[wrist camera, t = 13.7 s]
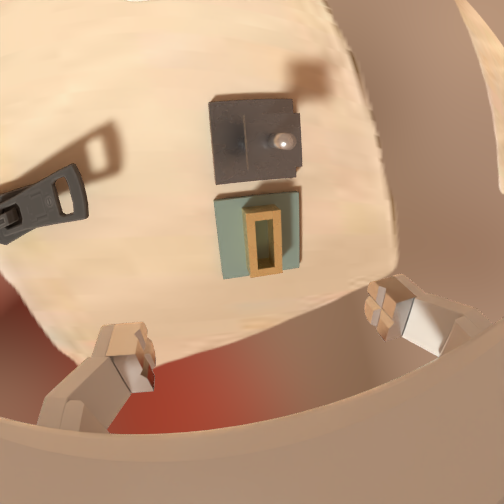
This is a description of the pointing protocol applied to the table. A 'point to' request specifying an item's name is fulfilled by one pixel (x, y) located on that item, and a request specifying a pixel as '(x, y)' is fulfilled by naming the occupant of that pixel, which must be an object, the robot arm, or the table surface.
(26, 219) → the zipper pull
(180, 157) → the table surface
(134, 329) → the robot arm
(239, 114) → the pin stand
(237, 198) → the rubber mat
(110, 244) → the table surface
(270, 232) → the wooden rectangular frame
